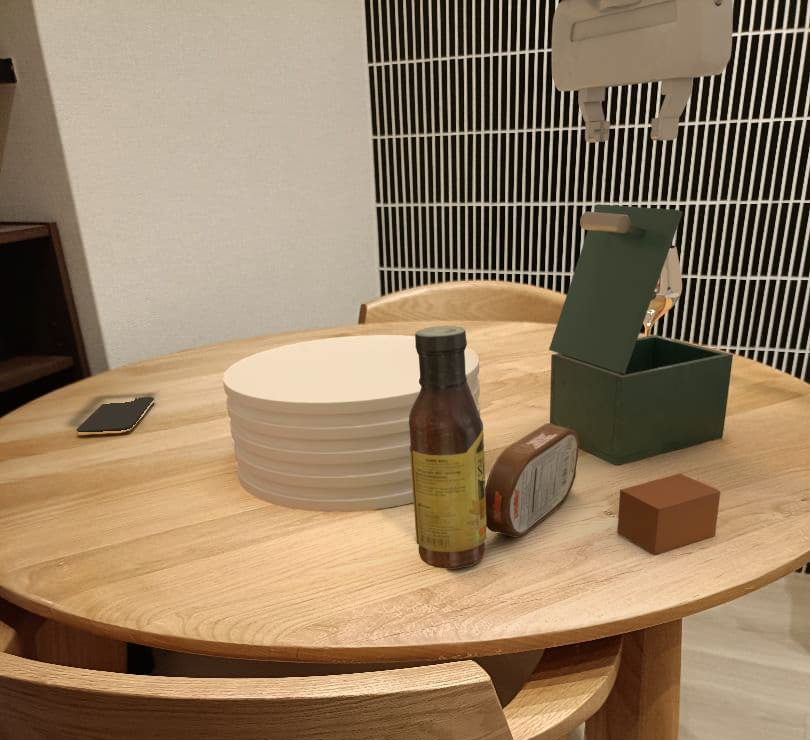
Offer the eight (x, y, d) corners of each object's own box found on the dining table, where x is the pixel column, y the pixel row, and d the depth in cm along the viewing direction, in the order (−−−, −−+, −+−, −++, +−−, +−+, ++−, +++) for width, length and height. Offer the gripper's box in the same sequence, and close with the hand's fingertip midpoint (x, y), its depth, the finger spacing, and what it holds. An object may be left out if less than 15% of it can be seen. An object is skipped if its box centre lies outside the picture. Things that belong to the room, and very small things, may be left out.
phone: (156, 396, 122) (129, 427, 108) (157, 401, 122) (130, 433, 109) (106, 399, 122) (73, 431, 108) (107, 405, 122) (74, 437, 109)
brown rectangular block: (675, 516, 78) (680, 472, 76) (715, 535, 73) (721, 490, 72) (616, 533, 75) (619, 489, 73) (654, 555, 71) (658, 509, 69)
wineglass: (636, 366, 125) (645, 242, 117) (684, 374, 120) (697, 244, 112) (604, 378, 120) (611, 249, 112) (653, 387, 115) (664, 252, 107)
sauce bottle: (497, 565, 71) (496, 334, 62) (429, 578, 69) (417, 344, 61) (471, 534, 76) (466, 318, 68) (407, 545, 75) (393, 327, 66)
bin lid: (601, 206, 91) (569, 192, 89) (683, 212, 81) (648, 196, 78) (553, 351, 96) (521, 342, 93) (624, 374, 85) (590, 364, 83)
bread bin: (649, 410, 106) (655, 334, 101) (723, 437, 96) (733, 354, 91) (549, 434, 100) (551, 354, 96) (616, 465, 90) (621, 377, 85)
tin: (554, 489, 85) (556, 410, 81) (582, 494, 83) (586, 415, 79) (479, 546, 74) (478, 459, 70) (510, 554, 72) (510, 465, 69)
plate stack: (450, 413, 109) (448, 326, 104) (510, 493, 84) (510, 384, 79) (239, 436, 106) (225, 347, 101) (236, 526, 81) (218, 415, 76)
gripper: (763, -66, 62) (740, 136, 68) (596, -19, 79) (589, 141, 85) (699, -69, 60) (681, 141, 66) (541, -20, 77) (538, 144, 83)
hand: (628, 141), depth 76 cm, fingers open, 8 cm apart
